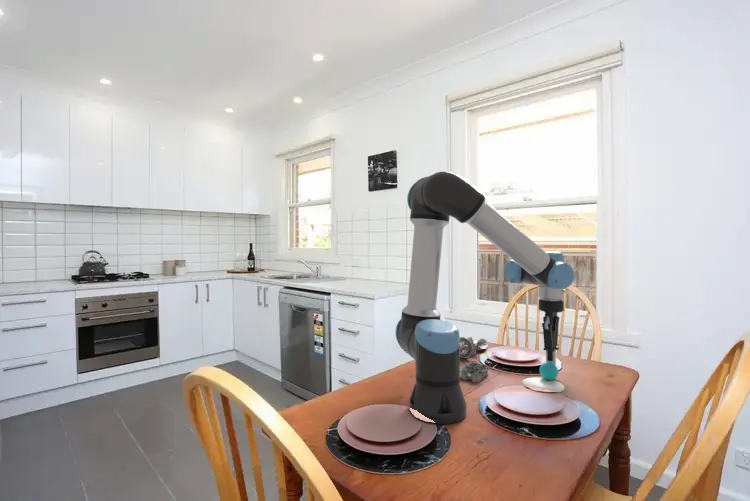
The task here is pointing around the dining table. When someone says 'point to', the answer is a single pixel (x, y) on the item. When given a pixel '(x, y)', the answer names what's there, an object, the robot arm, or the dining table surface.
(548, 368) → the ball
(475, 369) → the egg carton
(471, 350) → the spaceship
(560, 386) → the disc
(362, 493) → the dining table surface
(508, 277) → the robot arm
